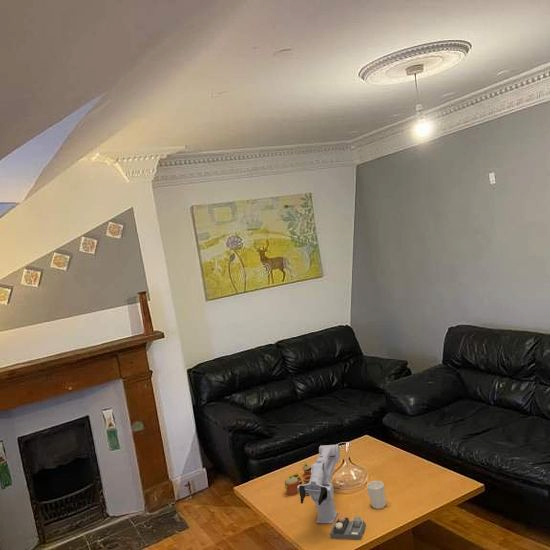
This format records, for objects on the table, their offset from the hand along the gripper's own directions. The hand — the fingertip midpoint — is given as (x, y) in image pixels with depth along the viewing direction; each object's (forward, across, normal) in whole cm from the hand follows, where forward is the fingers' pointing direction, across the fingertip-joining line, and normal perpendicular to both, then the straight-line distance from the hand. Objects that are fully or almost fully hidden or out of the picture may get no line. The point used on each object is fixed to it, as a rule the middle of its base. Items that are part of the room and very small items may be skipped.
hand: (310, 502), depth 225 cm
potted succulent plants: (-49, -16, +30) cm, 60 cm away
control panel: (-6, +14, +19) cm, 24 cm away
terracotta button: (-9, +12, +16) cm, 22 cm away
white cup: (-27, +26, +21) cm, 43 cm away
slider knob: (-8, +18, +16) cm, 26 cm away
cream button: (-4, +11, +16) cm, 20 cm away
